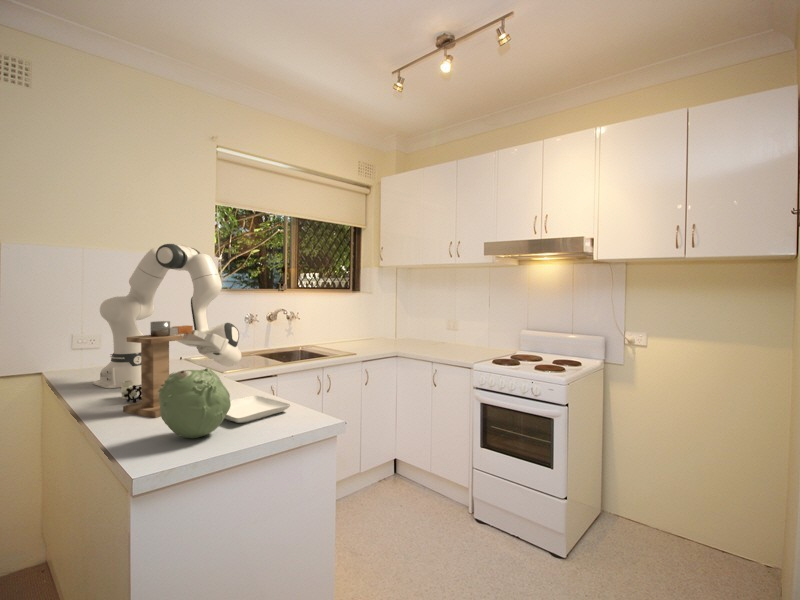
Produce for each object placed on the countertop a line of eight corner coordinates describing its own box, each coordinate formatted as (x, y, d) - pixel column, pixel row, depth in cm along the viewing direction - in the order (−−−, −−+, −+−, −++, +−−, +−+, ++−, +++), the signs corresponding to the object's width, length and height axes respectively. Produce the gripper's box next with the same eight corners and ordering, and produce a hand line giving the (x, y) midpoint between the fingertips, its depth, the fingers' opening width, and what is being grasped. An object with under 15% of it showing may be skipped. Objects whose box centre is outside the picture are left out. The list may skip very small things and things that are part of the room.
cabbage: (238, 436, 119) (238, 368, 118) (165, 453, 106) (165, 377, 106) (220, 422, 131) (220, 360, 130) (153, 436, 118) (152, 367, 118)
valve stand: (123, 411, 141) (122, 336, 140) (155, 403, 152) (155, 333, 151) (155, 417, 135) (155, 339, 134) (186, 408, 146) (186, 335, 145)
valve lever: (146, 336, 143) (146, 322, 143) (183, 332, 157) (183, 319, 157) (158, 337, 141) (158, 322, 141) (195, 333, 155) (195, 319, 154)
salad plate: (255, 402, 155) (255, 393, 155) (292, 412, 143) (292, 403, 143) (201, 416, 138) (201, 406, 138) (237, 429, 126) (237, 418, 126)
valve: (115, 398, 158) (124, 404, 150) (115, 381, 158) (124, 387, 150) (135, 395, 163) (144, 401, 155) (135, 379, 163) (144, 384, 154)
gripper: (194, 337, 170) (168, 322, 159) (232, 339, 163) (207, 324, 151) (187, 351, 167) (160, 337, 156) (225, 354, 160) (200, 340, 148)
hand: (184, 331), depth 154 cm, fingers open, 8 cm apart
